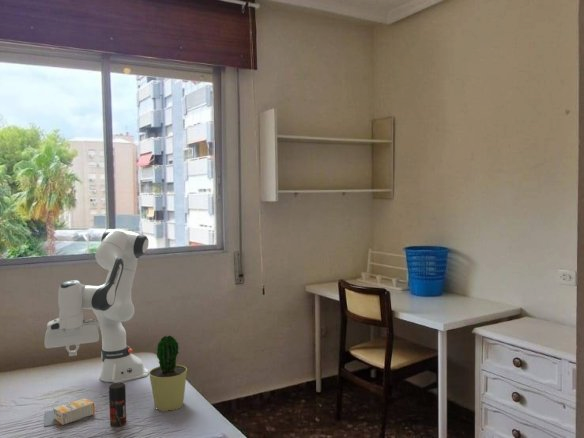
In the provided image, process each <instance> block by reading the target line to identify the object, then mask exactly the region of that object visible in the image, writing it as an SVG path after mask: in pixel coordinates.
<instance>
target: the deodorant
mask: <svg viewBox="0 0 584 438" xmlns="http://www.w3.org/2000/svg"><path fill="white" fill-rule="evenodd" d="M126 394H127V393H126V384H125V382H120V383H112V384H110V385H109V386H108V398H109V399H108V403H109V406H108V407H109V425H110V427H112V428H120V427H123V426H125V425H126V424H127V401H126V397H127V396H126Z"/></svg>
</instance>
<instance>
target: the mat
mask: <svg viewBox="0 0 584 438" xmlns="http://www.w3.org/2000/svg"><path fill="white" fill-rule="evenodd" d="M89 419H90V416H87V417H84V418H81V419H78V420H75V421H72V422H71V423H74V422H78V421H83V420H89ZM43 420H44V421H43V428H47V427H51V426H57V425H62V424H61V423H59V422H58V421H56V420H55V419H54V412H53V410H49V411H44V419H43Z"/></svg>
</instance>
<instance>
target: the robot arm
mask: <svg viewBox="0 0 584 438" xmlns="http://www.w3.org/2000/svg"><path fill="white" fill-rule="evenodd" d="M100 240H101V241H100V244H99V245H98V247H97V249H96V252H95V255H94V257H95V261H96V263H97V264H98V266H100V267H101V268H102V269H104V270H106V271H108V273H107V275H106V279H105V281H104V283H103V284H100V285H86V284H82V283H81V282H80V281H79V280H77V279H71V280H66V281H64V282H62V283H60V285H59V287H58V295H57V298H58V299H57V301H58V305H57V306H58V308H59V313H58V317H57V318H55V319H53V320H50V321H48V322H47V324H46V331H45V335H44V344H43V345H44V347H45V348H46V349H47V350H48V349H54V348H62V347H65V350H66V351H67V353H68V357H74V356H78V350H79V349H80V345H83V344H90V343H97V342H99V340H100V334H99V333H100V332H101V347H102V348H101V352H100V354H101V355H100V357H101V358H100V359H101V361H102V362H101V371H100V376H99V380H100V381H102V382H108V383H112V384H114V383H125V382H129V381H132V380H137V379H141V378H145V377H147V376H148V375H149V369H148V368H147V367H145V366H144V363H143V361H142V360H141V358H140V357H138V356H136V355H135V354H133V349H132V348H131V347H130V346H129V345H127V331H126V329H125V327H124V326H123V323H122V322H128V321H130V320H131V319H132V318H133V316H134V314H135V306H134V304H133V300H132V287H133V282H134V278H135V275H136V271H137V265H138V261H139V258H140V257H142V256H143V255H145V254H146V253H147V251H148V248H149V238H148V237H147V236H146V235H145V234H142V233H137V232H134V231H130V230H122V229H117V228H108V229H106V230H105V231H104V232H103V233H102V236H101V239H100ZM83 309H84V310H92V312H93V313H94V315H95V316H96V318H92V319H84V312H83ZM99 328H100V332H99ZM70 346H75V349H74V350H70Z"/></svg>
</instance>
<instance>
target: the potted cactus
mask: <svg viewBox="0 0 584 438" xmlns="http://www.w3.org/2000/svg"><path fill="white" fill-rule="evenodd" d="M179 343H180V342H179V341H177V339H175V336H174V335H173V336H172V335H164V336H162V337H161V338H160V340H159V341H158V343H157V345H156V347H155V350H156V358H157V361H156V362H158V364H159V366H156V367H154V368H152V369H150V370H149V371H148V375H149V380H150V386H151V389H152V395H153V401H154V406H155V409H156V408H157V409H159V410H164V411H163V412H169V411H168V410H173V411H176V410H178V408H179V409H181V408H182V406H183V405H184V401H185V391H186V381H187V373H188V368H187V366H184V365H181V364H177V362H178V361H177V359H178V354H181V352H179V349H180V348H181V347H179ZM157 409H156V410H157ZM175 409H176V410H175ZM159 410H158V411H159Z"/></svg>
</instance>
